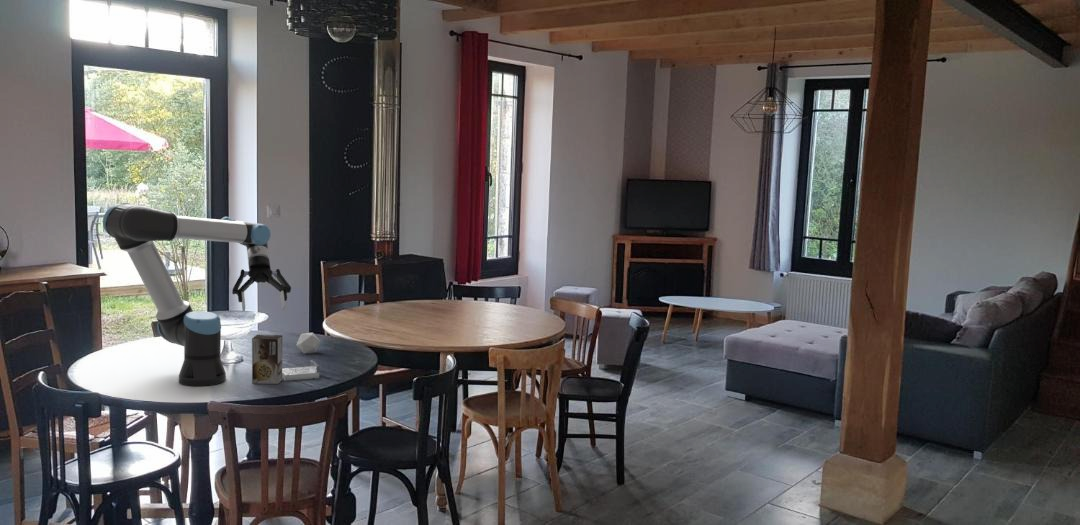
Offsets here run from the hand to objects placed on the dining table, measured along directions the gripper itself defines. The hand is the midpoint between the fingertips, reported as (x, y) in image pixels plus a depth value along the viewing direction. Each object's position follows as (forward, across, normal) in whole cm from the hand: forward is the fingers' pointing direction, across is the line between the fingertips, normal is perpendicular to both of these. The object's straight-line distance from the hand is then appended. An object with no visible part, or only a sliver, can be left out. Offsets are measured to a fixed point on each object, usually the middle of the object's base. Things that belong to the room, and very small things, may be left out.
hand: (264, 308), depth 301 cm
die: (-4, +21, +39) cm, 45 cm away
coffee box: (+25, 0, +9) cm, 27 cm away
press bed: (+22, +11, +12) cm, 27 cm away
